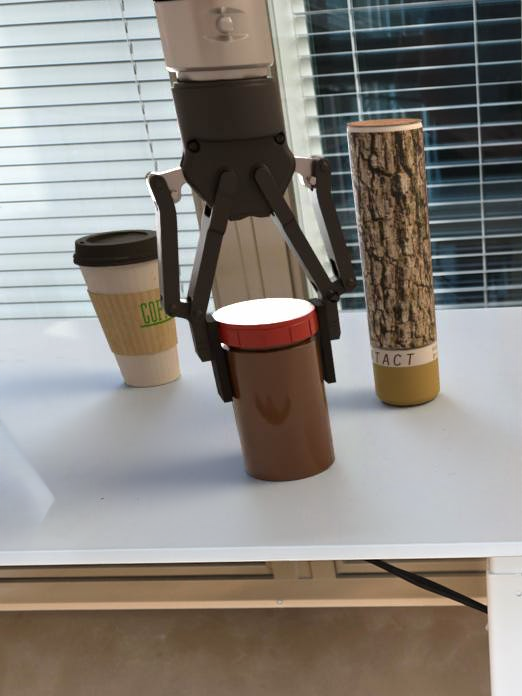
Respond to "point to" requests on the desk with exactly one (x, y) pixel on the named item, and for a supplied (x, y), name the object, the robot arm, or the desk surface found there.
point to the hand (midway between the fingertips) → (277, 387)
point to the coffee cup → (130, 303)
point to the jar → (281, 409)
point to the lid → (266, 322)
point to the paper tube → (396, 257)
